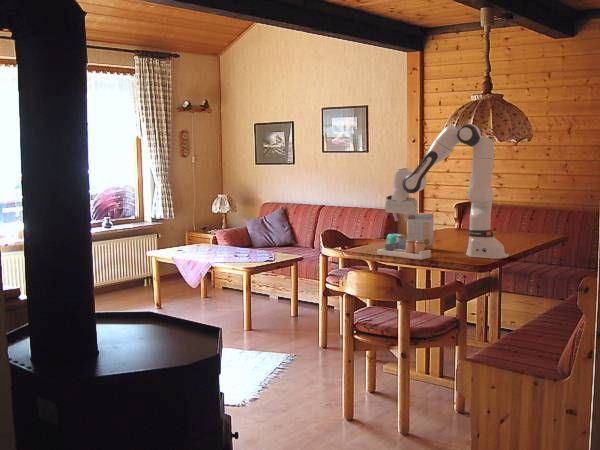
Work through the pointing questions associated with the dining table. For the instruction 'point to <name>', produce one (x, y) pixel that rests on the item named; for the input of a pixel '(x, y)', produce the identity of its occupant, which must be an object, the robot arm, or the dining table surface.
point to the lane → (405, 254)
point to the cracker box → (421, 229)
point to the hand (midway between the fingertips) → (401, 221)
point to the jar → (410, 246)
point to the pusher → (392, 246)
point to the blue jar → (401, 241)
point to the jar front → (418, 247)
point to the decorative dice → (391, 238)
